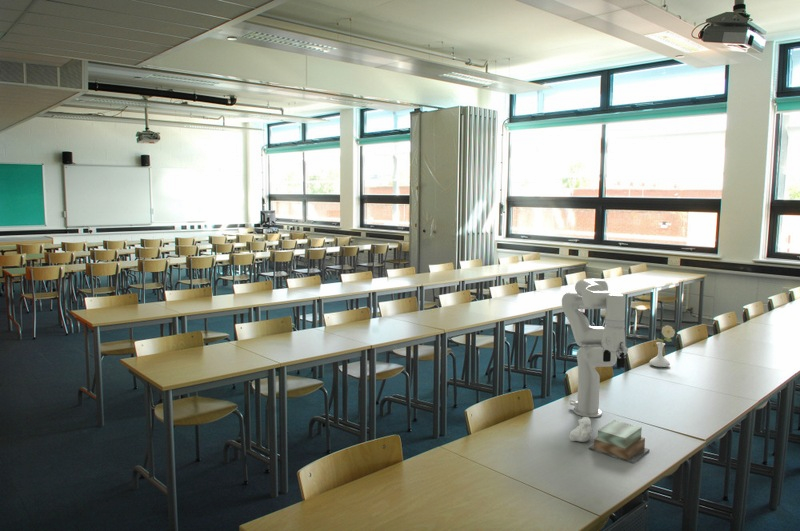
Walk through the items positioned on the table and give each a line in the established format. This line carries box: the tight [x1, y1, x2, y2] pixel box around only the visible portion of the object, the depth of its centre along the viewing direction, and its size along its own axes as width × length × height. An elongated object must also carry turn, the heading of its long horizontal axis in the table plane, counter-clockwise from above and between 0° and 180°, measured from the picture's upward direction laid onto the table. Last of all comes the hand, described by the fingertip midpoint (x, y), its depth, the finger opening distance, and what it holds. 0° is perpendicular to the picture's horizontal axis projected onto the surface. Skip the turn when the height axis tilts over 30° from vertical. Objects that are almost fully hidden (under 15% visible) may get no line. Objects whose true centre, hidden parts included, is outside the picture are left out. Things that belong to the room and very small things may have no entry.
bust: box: [568, 416, 593, 443], centre depth 239 cm, size 12×8×11 cm
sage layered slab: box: [588, 419, 650, 464], centre depth 230 cm, size 18×15×9 cm
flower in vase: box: [649, 324, 676, 368], centre depth 346 cm, size 13×11×25 cm
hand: (613, 364), depth 243 cm, fingers open, 9 cm apart
